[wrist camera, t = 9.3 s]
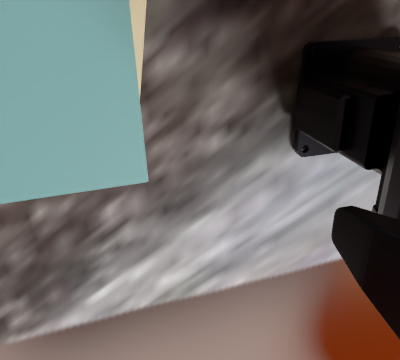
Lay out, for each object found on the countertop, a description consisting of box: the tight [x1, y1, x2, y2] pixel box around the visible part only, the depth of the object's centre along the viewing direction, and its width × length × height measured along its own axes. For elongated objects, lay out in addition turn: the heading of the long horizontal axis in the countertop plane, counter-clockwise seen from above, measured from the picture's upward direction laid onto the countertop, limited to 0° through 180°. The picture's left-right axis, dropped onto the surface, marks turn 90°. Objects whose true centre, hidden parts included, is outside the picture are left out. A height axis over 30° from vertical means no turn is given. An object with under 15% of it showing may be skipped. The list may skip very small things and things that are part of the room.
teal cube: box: [0, 0, 148, 204], centre depth 12 cm, size 6×6×6 cm
